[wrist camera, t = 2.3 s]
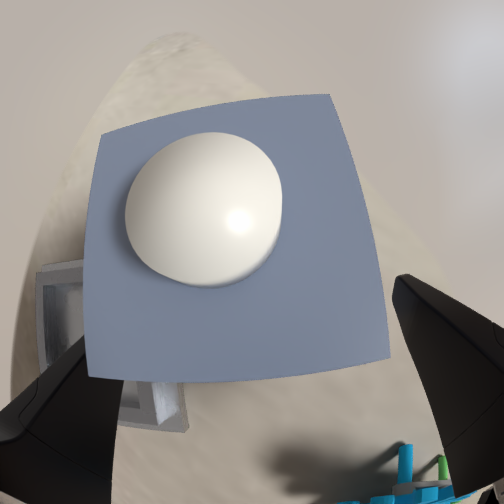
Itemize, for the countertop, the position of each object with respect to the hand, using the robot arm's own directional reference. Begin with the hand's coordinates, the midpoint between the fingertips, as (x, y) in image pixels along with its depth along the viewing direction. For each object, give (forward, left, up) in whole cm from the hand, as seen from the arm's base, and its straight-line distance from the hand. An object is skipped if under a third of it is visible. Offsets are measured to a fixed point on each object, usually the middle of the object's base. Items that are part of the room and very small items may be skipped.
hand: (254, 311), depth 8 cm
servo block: (+1, 0, -9) cm, 9 cm away
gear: (-15, -8, -9) cm, 19 cm away
